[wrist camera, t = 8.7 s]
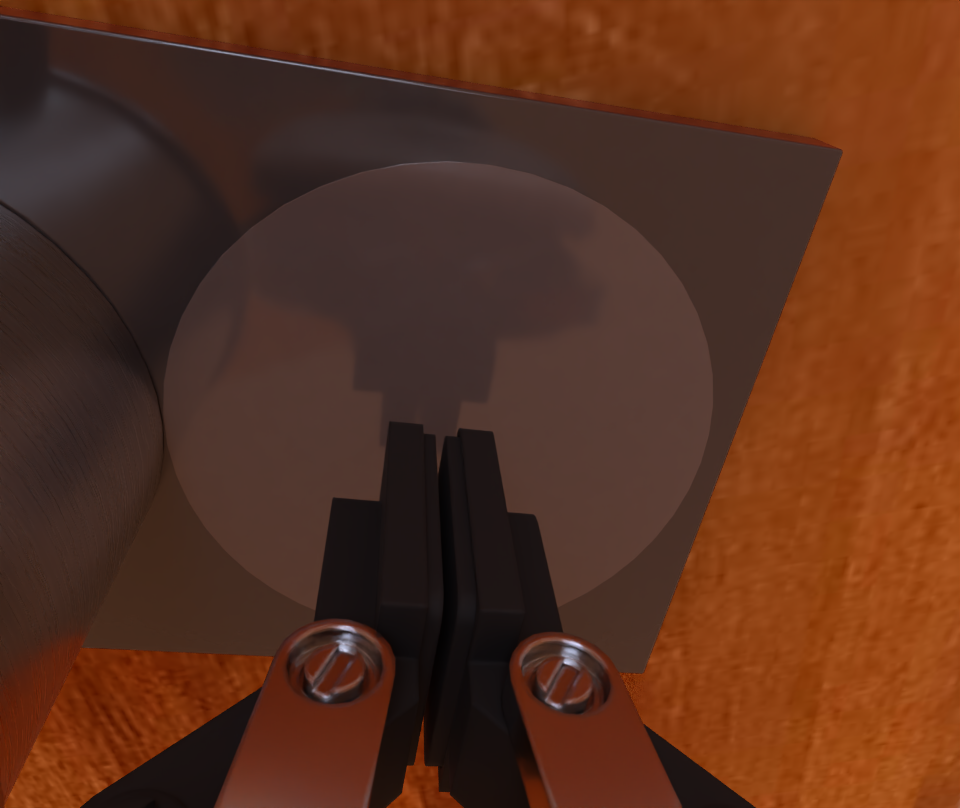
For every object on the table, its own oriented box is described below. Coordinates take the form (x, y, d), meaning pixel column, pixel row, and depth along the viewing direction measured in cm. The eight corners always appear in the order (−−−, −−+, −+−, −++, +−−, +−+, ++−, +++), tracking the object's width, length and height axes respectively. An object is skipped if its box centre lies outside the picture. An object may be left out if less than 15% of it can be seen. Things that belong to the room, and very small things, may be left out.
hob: (-800, -125, 9) (-926, -135, 8) (815, 137, 13) (845, 150, 12) (-402, 587, 15) (-452, 625, 14) (633, 642, 18) (644, 675, 17)
